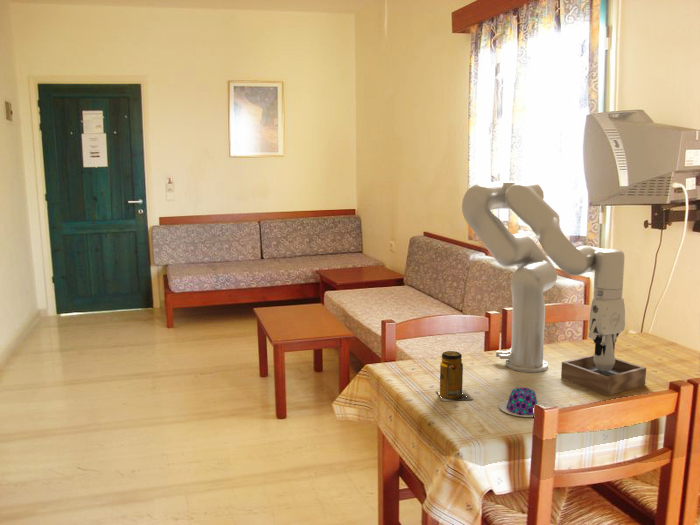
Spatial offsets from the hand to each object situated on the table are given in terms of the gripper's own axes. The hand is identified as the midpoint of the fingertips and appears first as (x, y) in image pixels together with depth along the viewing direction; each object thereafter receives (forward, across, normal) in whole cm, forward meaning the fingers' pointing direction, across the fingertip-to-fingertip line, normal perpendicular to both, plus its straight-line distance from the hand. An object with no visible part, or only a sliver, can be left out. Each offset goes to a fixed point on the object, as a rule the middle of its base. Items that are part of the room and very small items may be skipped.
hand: (604, 356), depth 190 cm
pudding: (+8, -34, -3) cm, 35 cm away
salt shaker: (+4, 0, 0) cm, 4 cm away
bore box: (+8, 0, 0) cm, 8 cm away
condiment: (+8, -43, +14) cm, 46 cm away
